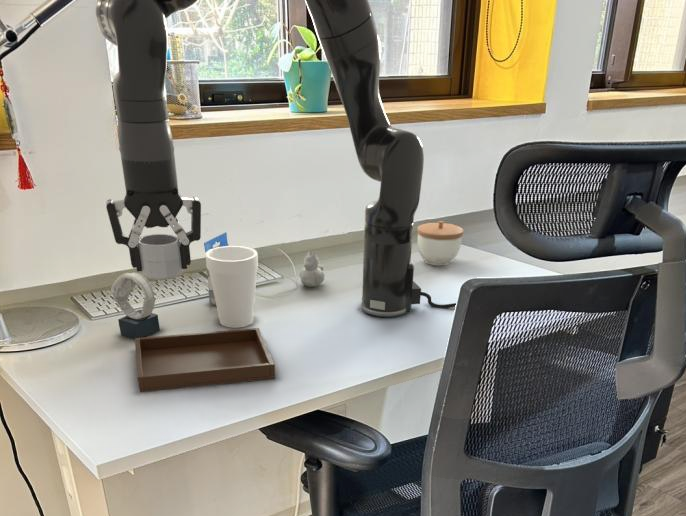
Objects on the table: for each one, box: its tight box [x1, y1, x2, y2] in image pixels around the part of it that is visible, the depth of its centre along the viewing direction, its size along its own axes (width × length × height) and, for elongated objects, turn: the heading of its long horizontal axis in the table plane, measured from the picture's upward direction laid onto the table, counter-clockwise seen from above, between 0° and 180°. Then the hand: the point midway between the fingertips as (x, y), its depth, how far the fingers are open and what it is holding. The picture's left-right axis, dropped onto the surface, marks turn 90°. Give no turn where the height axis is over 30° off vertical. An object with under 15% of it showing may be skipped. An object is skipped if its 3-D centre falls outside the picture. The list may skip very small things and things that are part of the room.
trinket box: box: [416, 220, 464, 266], centre depth 167 cm, size 11×11×9 cm
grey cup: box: [137, 233, 184, 281], centre depth 111 cm, size 6×6×6 cm
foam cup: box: [204, 245, 259, 329], centre depth 132 cm, size 10×9×13 cm
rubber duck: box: [299, 249, 325, 288], centre depth 152 cm, size 5×7×8 cm
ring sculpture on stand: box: [110, 271, 161, 341], centre depth 127 cm, size 6×8×11 cm
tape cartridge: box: [203, 231, 230, 306], centre depth 142 cm, size 9×4×12 cm, turn 160°
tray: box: [134, 327, 276, 393], centre depth 119 cm, size 22×16×3 cm
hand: (162, 268), depth 112 cm, fingers closed on grey cup, 6 cm apart
